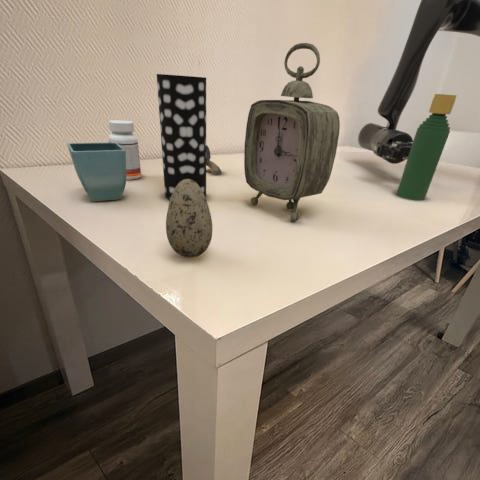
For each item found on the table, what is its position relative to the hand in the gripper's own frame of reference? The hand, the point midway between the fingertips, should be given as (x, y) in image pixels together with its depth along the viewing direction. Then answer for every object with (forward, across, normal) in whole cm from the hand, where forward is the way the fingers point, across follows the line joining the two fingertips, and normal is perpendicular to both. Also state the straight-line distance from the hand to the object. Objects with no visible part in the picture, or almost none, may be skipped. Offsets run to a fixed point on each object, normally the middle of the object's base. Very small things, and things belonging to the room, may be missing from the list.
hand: (416, 156), depth 78 cm
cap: (+4, 0, -9) cm, 10 cm away
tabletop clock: (+23, -32, +8) cm, 40 cm away
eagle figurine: (-6, -51, +8) cm, 52 cm away
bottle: (+4, 0, +8) cm, 9 cm away
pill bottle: (+6, -67, +8) cm, 68 cm away
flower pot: (+22, -66, +8) cm, 71 cm away
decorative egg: (+46, -46, +8) cm, 65 cm away
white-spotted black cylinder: (+18, -51, +8) cm, 55 cm away
